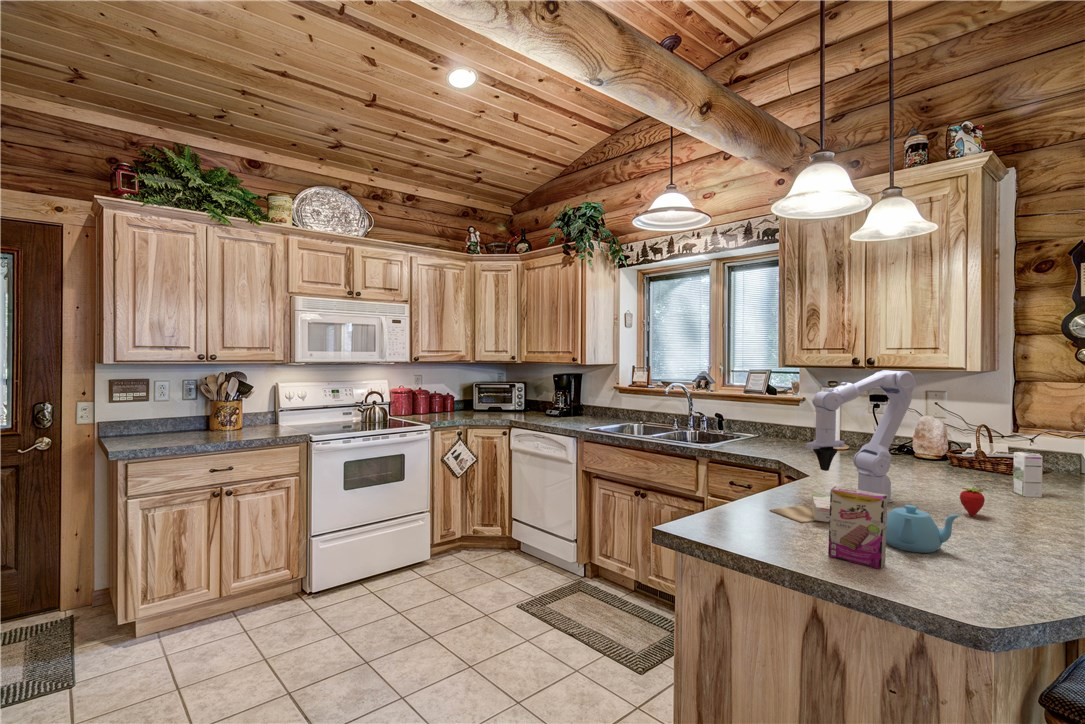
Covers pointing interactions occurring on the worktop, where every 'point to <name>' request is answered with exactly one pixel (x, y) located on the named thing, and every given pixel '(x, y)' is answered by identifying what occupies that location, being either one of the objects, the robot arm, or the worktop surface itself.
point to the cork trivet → (796, 513)
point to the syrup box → (1027, 474)
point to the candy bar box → (858, 526)
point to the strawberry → (972, 500)
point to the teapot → (916, 530)
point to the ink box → (821, 507)
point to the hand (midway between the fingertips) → (824, 470)
